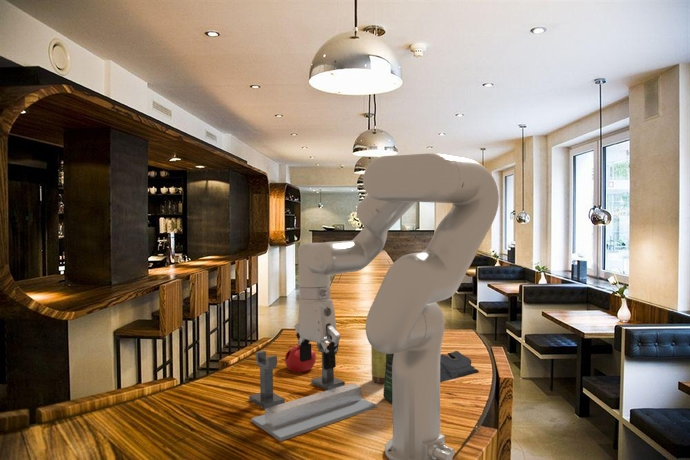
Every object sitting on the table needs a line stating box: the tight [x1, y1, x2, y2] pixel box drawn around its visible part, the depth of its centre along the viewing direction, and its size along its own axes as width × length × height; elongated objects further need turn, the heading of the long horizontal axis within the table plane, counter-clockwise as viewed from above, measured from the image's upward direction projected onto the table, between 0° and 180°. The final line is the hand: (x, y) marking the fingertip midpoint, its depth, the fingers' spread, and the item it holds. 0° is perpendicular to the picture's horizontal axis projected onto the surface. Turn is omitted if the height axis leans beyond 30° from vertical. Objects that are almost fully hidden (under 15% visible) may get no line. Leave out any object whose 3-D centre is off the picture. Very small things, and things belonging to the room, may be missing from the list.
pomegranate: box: [284, 343, 317, 373], centre depth 150 cm, size 10×10×9 cm
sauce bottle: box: [370, 346, 386, 385], centre depth 138 cm, size 6×6×20 cm
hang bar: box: [264, 382, 362, 429], centre depth 115 cm, size 4×26×4 cm, turn 129°
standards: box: [248, 343, 346, 410], centre depth 129 cm, size 8×26×12 cm, turn 129°
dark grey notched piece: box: [440, 350, 480, 383], centre depth 147 cm, size 15×22×5 cm
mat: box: [250, 397, 377, 442], centre depth 115 cm, size 13×28×1 cm, turn 129°
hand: (317, 364), depth 114 cm, fingers open, 9 cm apart
